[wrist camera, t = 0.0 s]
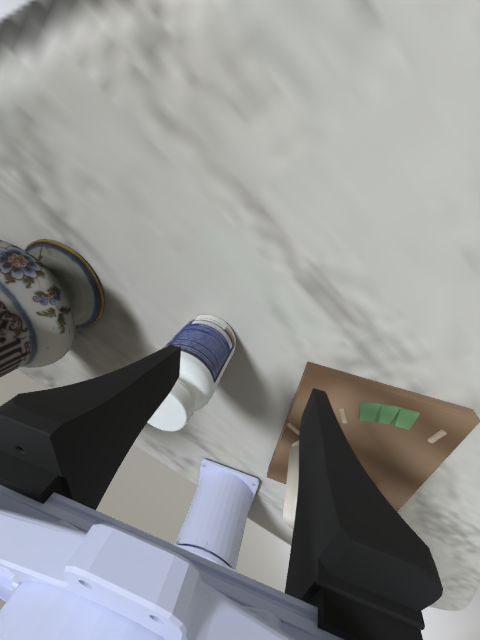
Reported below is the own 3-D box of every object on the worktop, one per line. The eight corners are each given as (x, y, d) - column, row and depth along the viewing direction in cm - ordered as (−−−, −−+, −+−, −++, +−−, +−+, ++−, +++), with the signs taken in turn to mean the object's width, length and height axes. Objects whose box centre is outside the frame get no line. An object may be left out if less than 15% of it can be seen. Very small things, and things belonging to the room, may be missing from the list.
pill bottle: (186, 308, 25) (118, 369, 16) (239, 319, 24) (197, 390, 15) (186, 353, 27) (128, 426, 19) (234, 365, 26) (195, 448, 18)
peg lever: (384, 491, 26) (405, 583, 20) (362, 500, 28) (374, 588, 22) (303, 431, 26) (298, 507, 19) (284, 444, 27) (274, 517, 21)
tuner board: (384, 510, 30) (387, 523, 28) (268, 467, 32) (266, 478, 31) (473, 409, 21) (482, 422, 20) (307, 361, 24) (307, 370, 22)
